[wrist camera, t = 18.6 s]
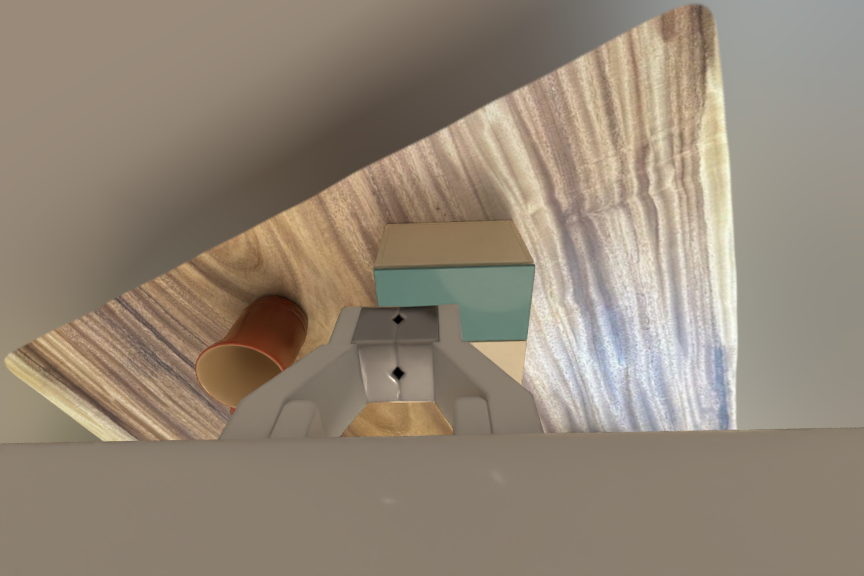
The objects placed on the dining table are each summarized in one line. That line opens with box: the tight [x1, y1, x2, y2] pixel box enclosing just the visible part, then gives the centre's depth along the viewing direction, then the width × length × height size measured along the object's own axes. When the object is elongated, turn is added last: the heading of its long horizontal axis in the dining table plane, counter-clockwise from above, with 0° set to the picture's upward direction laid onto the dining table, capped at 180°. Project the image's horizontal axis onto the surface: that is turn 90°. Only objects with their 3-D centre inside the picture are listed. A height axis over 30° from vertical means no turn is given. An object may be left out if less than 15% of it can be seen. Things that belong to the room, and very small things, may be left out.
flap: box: [374, 264, 535, 341], centre depth 32 cm, size 7×13×1 cm, turn 92°
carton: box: [374, 220, 534, 403], centre depth 39 cm, size 15×13×10 cm
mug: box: [195, 296, 308, 415], centre depth 42 cm, size 12×9×10 cm
